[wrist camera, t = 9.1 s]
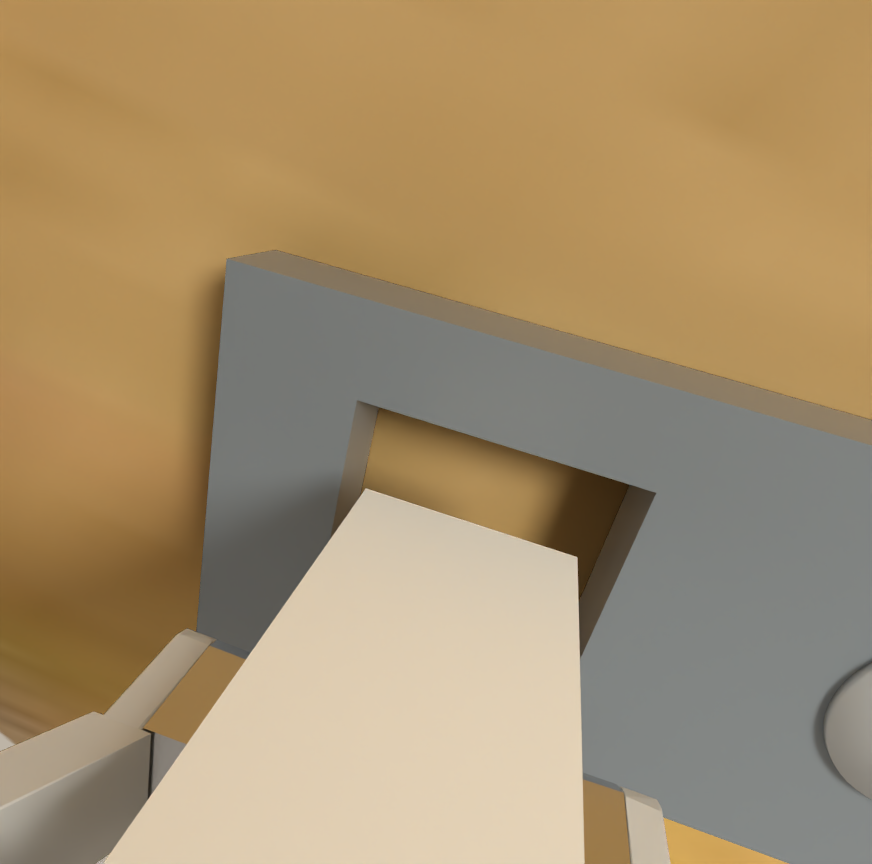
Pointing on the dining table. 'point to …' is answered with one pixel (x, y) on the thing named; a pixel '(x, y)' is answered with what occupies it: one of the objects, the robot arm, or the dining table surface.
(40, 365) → the dining table surface
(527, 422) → the power board
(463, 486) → the dining table surface
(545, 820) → the block
